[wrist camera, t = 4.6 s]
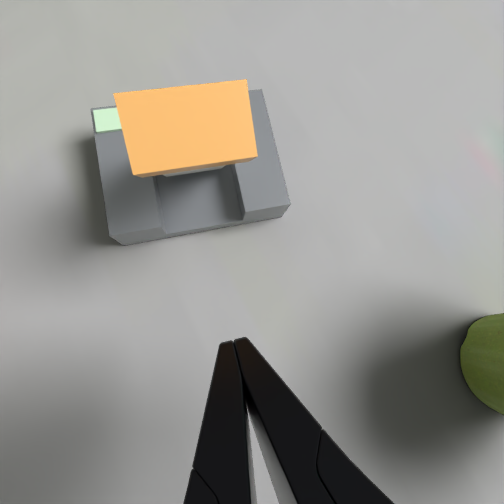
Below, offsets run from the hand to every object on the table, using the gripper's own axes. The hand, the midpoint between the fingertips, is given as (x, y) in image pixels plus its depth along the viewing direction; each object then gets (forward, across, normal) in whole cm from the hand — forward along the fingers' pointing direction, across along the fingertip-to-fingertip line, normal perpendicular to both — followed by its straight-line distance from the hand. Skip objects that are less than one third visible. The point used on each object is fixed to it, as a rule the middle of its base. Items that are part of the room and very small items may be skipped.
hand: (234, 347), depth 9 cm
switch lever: (+15, 0, -1) cm, 15 cm away
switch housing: (+17, 0, +1) cm, 17 cm away
